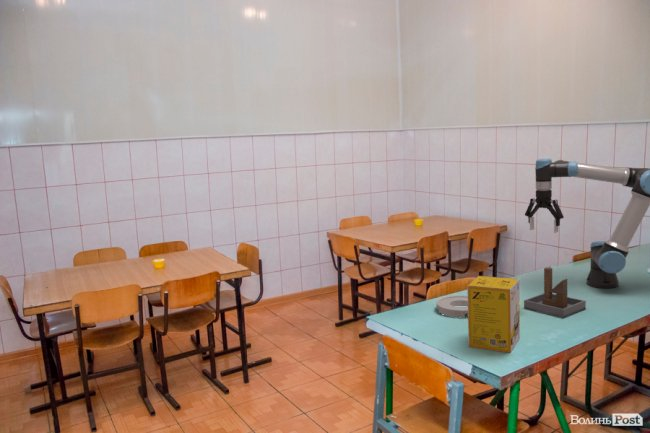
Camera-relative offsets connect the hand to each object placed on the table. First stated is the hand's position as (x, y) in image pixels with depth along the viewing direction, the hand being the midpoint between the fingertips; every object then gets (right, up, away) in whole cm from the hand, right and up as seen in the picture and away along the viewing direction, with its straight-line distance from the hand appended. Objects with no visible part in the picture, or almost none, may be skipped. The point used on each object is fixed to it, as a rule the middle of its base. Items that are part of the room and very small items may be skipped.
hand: (543, 231), depth 281 cm
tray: (-5, -36, -24) cm, 43 cm away
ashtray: (-46, -38, -18) cm, 62 cm away
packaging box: (-44, -44, -59) cm, 86 cm away
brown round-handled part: (-4, -35, -24) cm, 43 cm away
